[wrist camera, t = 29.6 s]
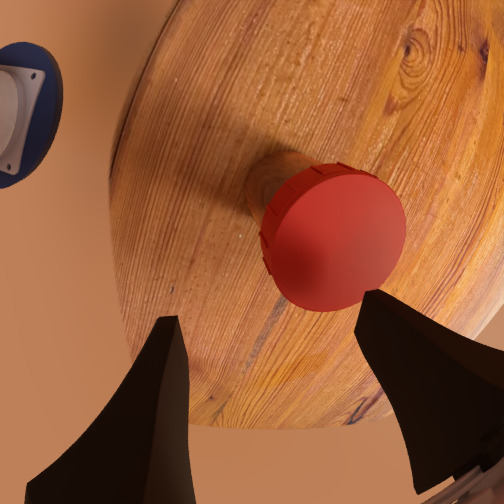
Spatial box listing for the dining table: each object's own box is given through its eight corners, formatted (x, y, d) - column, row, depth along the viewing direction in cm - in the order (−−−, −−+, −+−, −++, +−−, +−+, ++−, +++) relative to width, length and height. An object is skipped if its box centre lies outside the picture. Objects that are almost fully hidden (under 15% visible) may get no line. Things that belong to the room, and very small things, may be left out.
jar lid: (357, 137, 10) (383, 144, 8) (394, 245, 13) (416, 263, 11) (231, 212, 11) (237, 232, 9) (296, 308, 14) (309, 334, 12)
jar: (234, 216, 18) (256, 283, 11) (261, 139, 16) (305, 157, 9) (305, 235, 19) (356, 301, 13) (333, 166, 17) (406, 203, 11)
